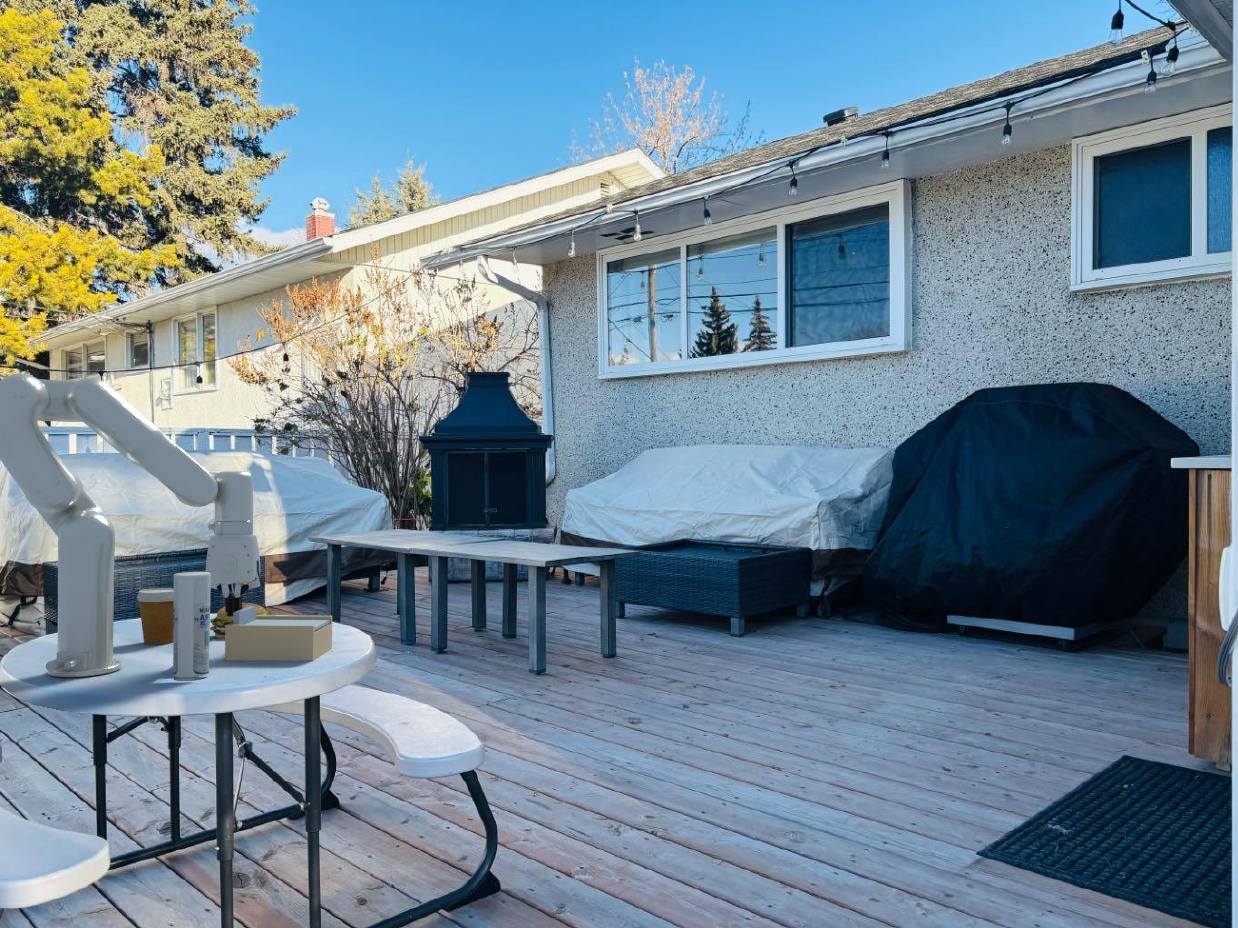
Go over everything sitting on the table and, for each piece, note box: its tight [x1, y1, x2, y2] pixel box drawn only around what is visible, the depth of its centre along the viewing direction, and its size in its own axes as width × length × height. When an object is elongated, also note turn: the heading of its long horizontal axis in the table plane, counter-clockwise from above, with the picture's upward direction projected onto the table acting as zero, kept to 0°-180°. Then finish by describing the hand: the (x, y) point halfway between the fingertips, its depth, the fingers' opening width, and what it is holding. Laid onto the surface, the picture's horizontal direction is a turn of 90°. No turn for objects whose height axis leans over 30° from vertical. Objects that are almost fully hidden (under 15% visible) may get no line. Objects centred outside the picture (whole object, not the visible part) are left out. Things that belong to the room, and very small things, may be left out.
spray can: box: [172, 571, 212, 682], centre depth 176 cm, size 6×6×20 cm
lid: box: [233, 606, 330, 630], centre depth 194 cm, size 11×18×4 cm, turn 91°
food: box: [210, 602, 275, 640], centre depth 219 cm, size 14×14×8 cm
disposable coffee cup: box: [136, 587, 174, 646], centre depth 210 cm, size 10×10×12 cm
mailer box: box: [224, 614, 333, 662], centre depth 194 cm, size 13×18×8 cm
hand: (233, 615), depth 194 cm, fingers closed
